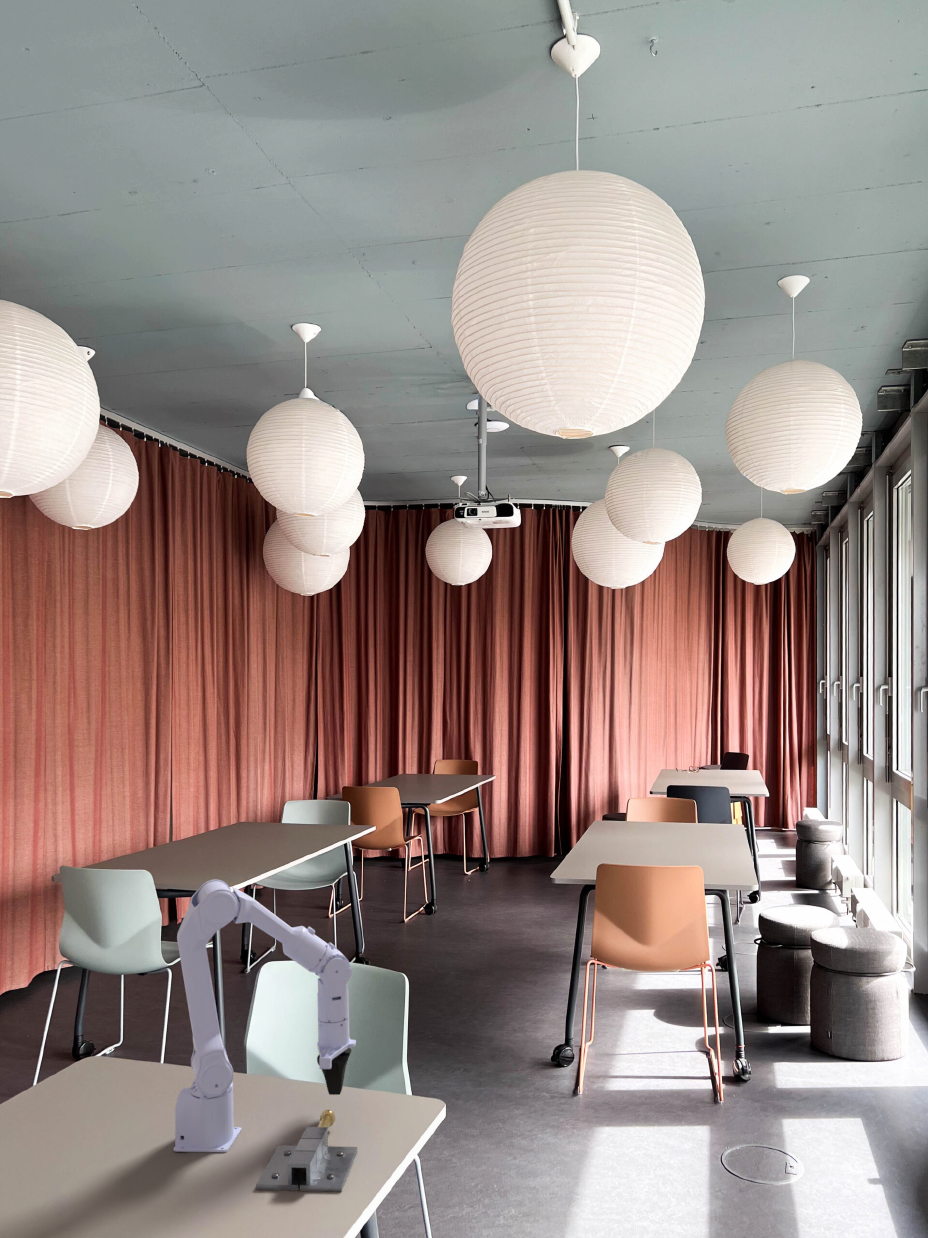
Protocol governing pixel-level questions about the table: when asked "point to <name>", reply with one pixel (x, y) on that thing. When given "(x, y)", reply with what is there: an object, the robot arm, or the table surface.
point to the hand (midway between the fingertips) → (335, 1093)
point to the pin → (327, 1119)
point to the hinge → (308, 1164)
